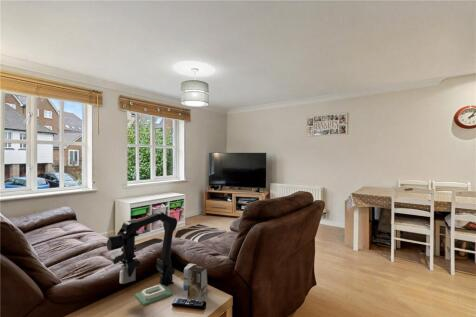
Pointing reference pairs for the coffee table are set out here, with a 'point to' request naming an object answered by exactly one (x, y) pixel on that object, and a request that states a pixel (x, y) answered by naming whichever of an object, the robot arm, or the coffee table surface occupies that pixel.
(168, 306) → the coffee table surface
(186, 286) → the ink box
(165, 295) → the dock
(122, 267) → the plug
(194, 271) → the coffee box
